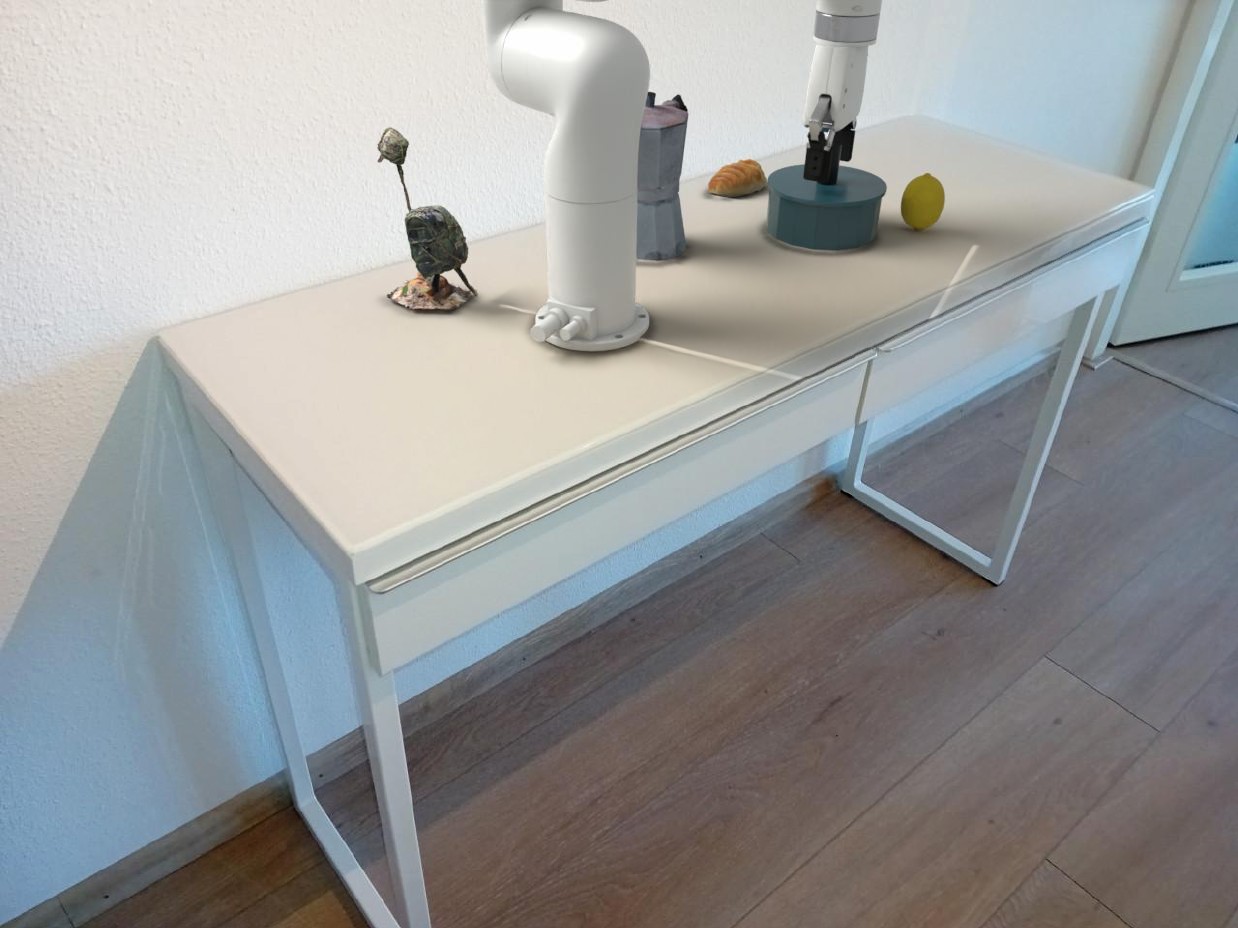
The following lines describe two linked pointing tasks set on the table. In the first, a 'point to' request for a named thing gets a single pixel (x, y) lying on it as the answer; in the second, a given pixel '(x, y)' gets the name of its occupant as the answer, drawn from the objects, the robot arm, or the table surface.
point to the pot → (821, 224)
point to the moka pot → (660, 179)
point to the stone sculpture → (428, 244)
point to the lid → (828, 185)
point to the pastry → (738, 179)
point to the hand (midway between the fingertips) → (827, 170)
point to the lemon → (922, 202)
